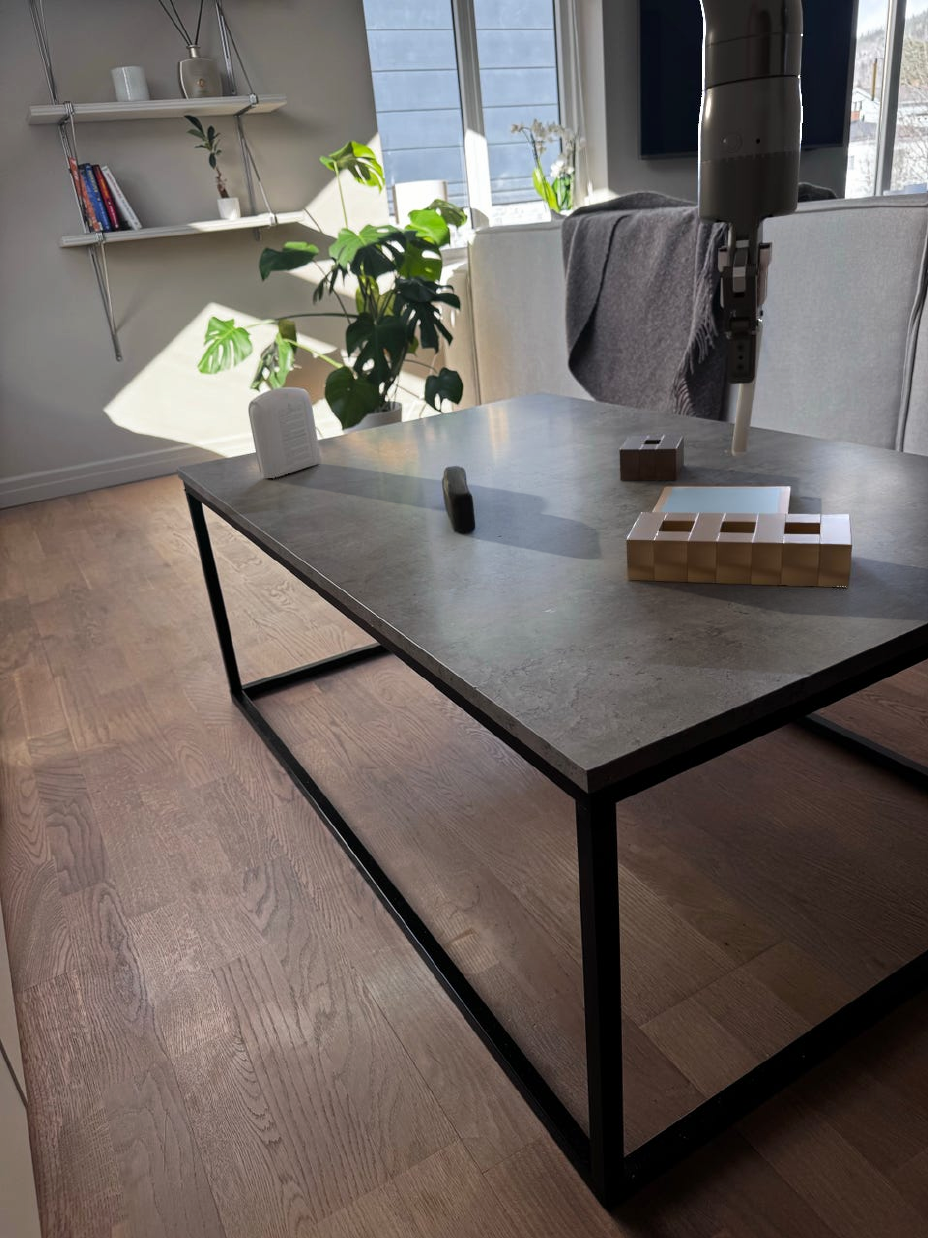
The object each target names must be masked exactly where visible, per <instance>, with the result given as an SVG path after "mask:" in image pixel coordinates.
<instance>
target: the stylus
mask: <svg viewBox="0 0 928 1238" xmlns="http://www.w3.org/2000/svg"><path fill="white" fill-rule="evenodd" d="M758 320H759V319H758ZM761 321H762V320H761ZM761 321H760V320H759V325H760V331H759V332H758V335H757V337H756V366H755V378H754V380H753V382H751V383H745V384H738V394H737V403H736V412H735V418H734V419H735V420H734V427H733V434H732V435H733V436H732V443H731V454H732V456H733V457H735V458H738V459H739V458H741V459H742V458H743V457H744V456H746V454H747V453H748V446H749V439H750V430H751V422H752V416H753V415H752V414H753V408H754V399H755V393H756V385H757V377H758V369H759V361H760V353H761V346H762V340H763V339H762V338H763V331H764V323H763V321H762V322H761Z"/></svg>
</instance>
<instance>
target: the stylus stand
mask: <svg viewBox="0 0 928 1238" xmlns="http://www.w3.org/2000/svg"><path fill="white" fill-rule="evenodd" d="M618 452H619V479H620V481H677V479H678V477H679V475H680V474H681V472H682V470H683V467H684V465H685V435H684V434H666V435H663V434H661V435H659V434H658V435H656V434H655V435H629V436H628V438H627V439H626V440H625V442H624V443H623V444H622V445H621V447H620V448H619V451H618Z"/></svg>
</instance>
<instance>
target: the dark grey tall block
mask: <svg viewBox="0 0 928 1238" xmlns="http://www.w3.org/2000/svg"><path fill="white" fill-rule="evenodd" d="M443 470H444V471H443V476H442V478H441V486H442V496H443V503H444V507H445V510H446V513H447V516H448V520H449V522H450V525H451V528H452V530H453V531H454V532H457V533H470V532H473V531H475V529H476V517H475V508H474V507H475V506H474V499H473V494H472V493H471V492H470V490H469V487H468V482H467V481H468V480H467V474H466V471H465V469H464V467H462V466H459V465H452V466H451V465H450V466H447V467H445V468H444V469H443Z"/></svg>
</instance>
